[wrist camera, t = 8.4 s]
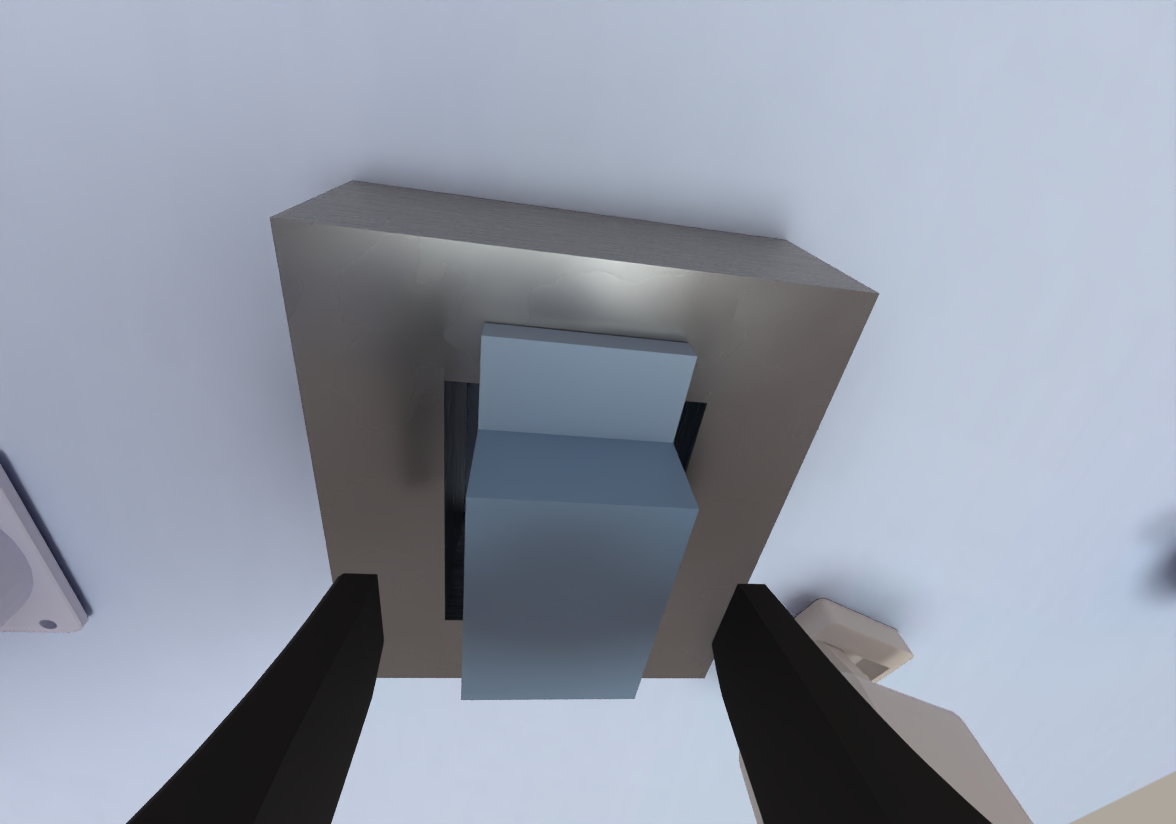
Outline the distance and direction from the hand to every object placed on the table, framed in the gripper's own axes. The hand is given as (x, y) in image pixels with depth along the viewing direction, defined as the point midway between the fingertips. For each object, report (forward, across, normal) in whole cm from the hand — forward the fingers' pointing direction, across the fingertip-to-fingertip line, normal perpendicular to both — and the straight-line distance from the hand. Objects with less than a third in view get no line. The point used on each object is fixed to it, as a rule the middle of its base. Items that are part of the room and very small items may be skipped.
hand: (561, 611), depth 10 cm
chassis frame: (+7, 0, 0) cm, 7 cm away
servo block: (+7, 0, 0) cm, 7 cm away
